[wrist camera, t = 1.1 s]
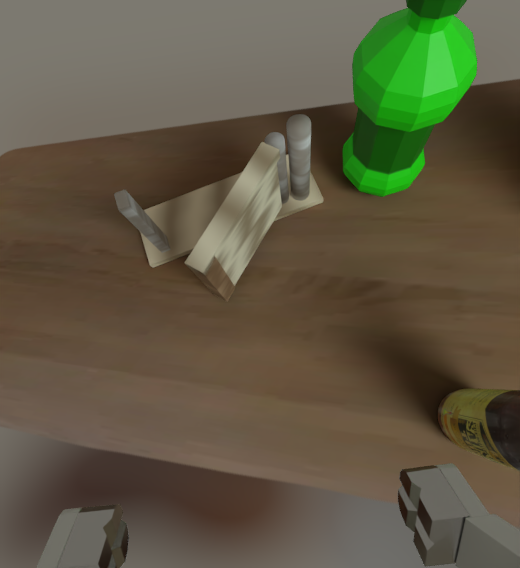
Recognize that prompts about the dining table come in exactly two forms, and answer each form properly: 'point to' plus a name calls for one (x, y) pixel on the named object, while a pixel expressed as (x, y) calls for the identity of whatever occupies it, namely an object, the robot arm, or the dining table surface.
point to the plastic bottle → (405, 91)
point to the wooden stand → (217, 202)
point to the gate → (242, 219)
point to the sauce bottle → (484, 423)
